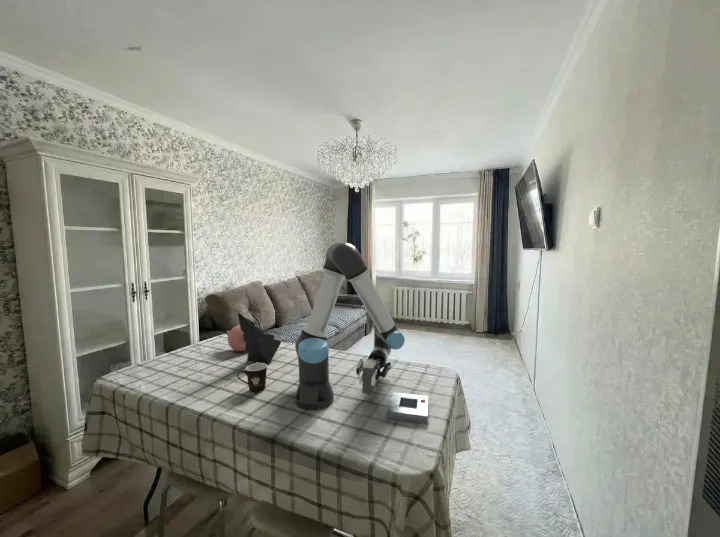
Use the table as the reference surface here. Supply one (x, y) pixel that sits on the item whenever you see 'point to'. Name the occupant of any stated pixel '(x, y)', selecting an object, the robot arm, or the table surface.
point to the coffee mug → (255, 376)
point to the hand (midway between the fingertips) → (366, 380)
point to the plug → (368, 376)
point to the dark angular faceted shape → (257, 342)
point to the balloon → (236, 339)
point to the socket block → (408, 408)
